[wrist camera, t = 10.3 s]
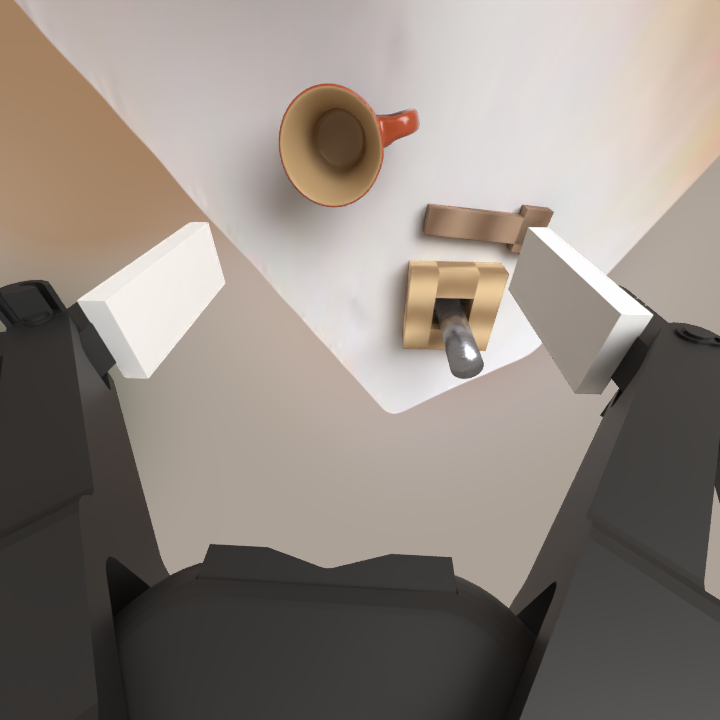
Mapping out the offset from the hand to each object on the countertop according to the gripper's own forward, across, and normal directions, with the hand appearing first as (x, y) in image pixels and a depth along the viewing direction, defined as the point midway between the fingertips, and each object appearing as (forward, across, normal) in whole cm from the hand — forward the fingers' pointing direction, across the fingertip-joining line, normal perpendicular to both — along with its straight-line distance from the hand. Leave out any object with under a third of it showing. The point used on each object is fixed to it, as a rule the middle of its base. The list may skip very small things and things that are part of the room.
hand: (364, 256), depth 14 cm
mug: (+29, -2, +2) cm, 29 cm away
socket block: (+29, +11, -18) cm, 36 cm away
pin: (+29, +11, -18) cm, 36 cm away
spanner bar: (+29, +13, -7) cm, 32 cm away
